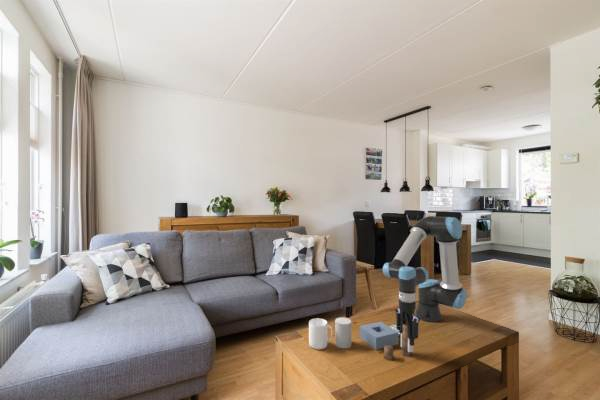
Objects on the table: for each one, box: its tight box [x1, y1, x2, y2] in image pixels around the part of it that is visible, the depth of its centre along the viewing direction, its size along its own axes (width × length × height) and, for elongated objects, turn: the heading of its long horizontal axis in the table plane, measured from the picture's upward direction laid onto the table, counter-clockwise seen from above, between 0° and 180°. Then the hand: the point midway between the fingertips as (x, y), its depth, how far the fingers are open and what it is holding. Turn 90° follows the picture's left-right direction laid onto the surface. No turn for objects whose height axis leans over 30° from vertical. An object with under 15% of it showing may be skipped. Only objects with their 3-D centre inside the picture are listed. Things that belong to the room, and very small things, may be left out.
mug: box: [308, 317, 334, 351], centre depth 145 cm, size 10×12×12 cm
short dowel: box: [383, 345, 394, 361], centre depth 133 cm, size 4×4×5 cm
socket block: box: [359, 321, 400, 351], centre depth 149 cm, size 14×14×6 cm
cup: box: [334, 316, 352, 349], centre depth 146 cm, size 8×8×12 cm
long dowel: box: [401, 323, 412, 358], centre depth 136 cm, size 4×4×14 cm
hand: (406, 348), depth 136 cm, fingers closed on long dowel, 4 cm apart
